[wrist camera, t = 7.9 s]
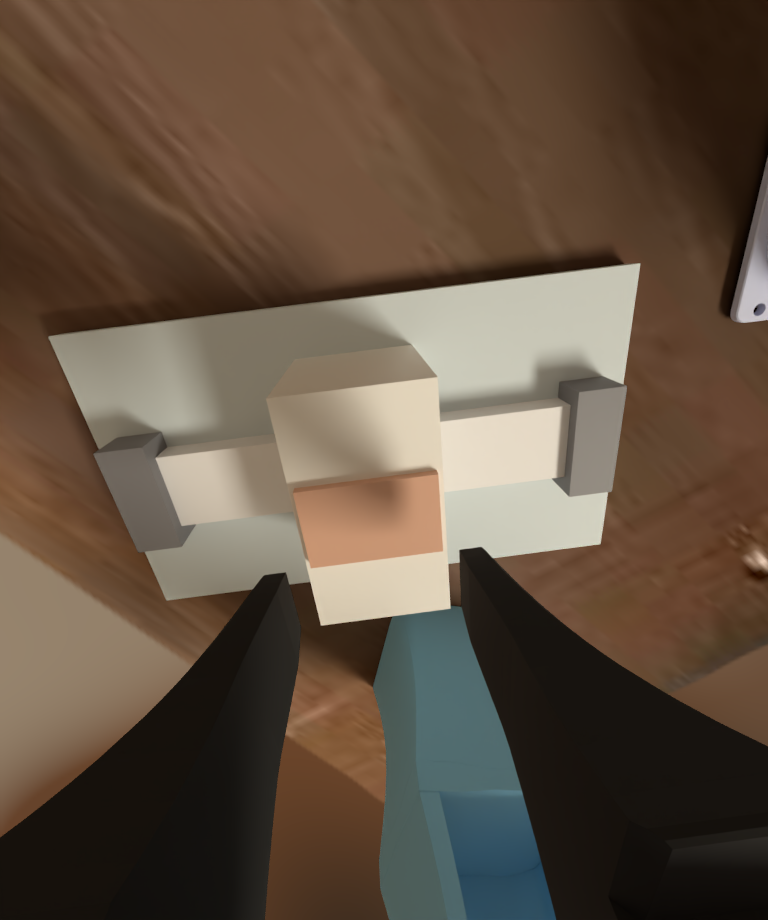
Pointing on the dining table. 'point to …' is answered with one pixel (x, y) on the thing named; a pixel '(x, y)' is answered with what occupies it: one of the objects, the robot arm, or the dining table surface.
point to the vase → (450, 784)
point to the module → (366, 481)
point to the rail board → (349, 330)
